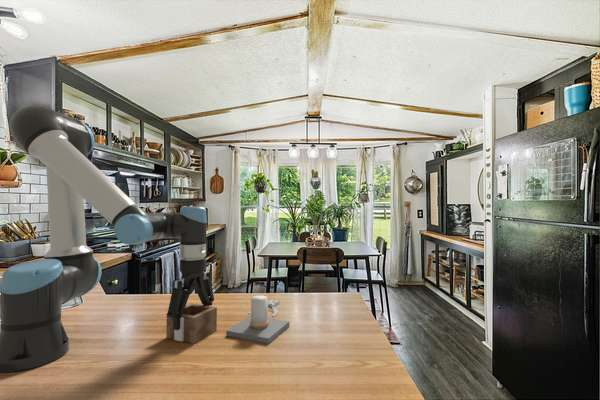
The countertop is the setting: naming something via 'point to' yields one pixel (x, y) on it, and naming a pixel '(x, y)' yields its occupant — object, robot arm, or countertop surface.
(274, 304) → the pliers
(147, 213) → the robot arm
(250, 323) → the square plate with peg
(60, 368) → the countertop surface
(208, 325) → the collar
